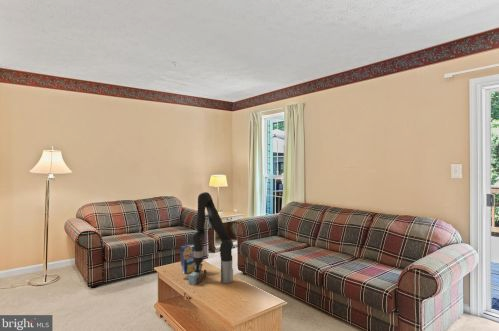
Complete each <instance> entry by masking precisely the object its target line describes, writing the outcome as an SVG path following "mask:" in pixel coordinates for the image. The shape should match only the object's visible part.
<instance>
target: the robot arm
mask: <svg viewBox="0 0 499 331" xmlns="http://www.w3.org/2000/svg"><path fill="white" fill-rule="evenodd" d="M206 212H207V216H208V222H209V223H210V225H211V227H212V229H213V230H214V232H215V233H216V234H217V235H218V237H219V238H220V241H221V243H220V247H219V255H220V257H219V258H220V283H221V284H231V283H233V281H234V268H233V256H232V255H233V253H232V251H233V250H232V249H233V247H234V242H233V240H232V239H231V237H230V235H229V234H228V232H227V229H226V227H225V225H224V222H223V221H222V218H221V216H220V215H219V212H218V210H217V208H216V206H215V203H214V200H213V198H212V196H211V194H210V193H209V192H206V191H205V192H201V193H200V194H198V196H197V215H196V220H195V228H196V232H193V234H192V237H191V238H192V239H191V240H192V245H194V263H195V268H194V271H193V272H199V277H200V276H201V271H202V267H203V261H204V253H203V252H204V251H203V250H204V248H203V243H202V242H201V240H203V238H204V237H205V226H206V224H205V223H206Z"/></svg>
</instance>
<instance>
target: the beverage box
mask: <svg viewBox="0 0 499 331" xmlns="http://www.w3.org/2000/svg"><path fill="white" fill-rule="evenodd" d="M194 268H195V263H194V244H193V243H192V244H187V245H182V246H180V272H181V273H183V274H188V273H192V272H195V271H194Z"/></svg>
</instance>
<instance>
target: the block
mask: <svg viewBox="0 0 499 331" xmlns="http://www.w3.org/2000/svg"><path fill="white" fill-rule="evenodd" d="M188 275H189V280H188V285H193V286H195V285H196V284H198V278H199V272H195V271H193V272H190V274H188Z"/></svg>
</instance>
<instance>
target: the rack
mask: <svg viewBox="0 0 499 331" xmlns="http://www.w3.org/2000/svg"><path fill="white" fill-rule="evenodd" d="M206 278H207V269H204V270H203V273H202V274H200V277H199V278H198V282H197V284H201V282H203V281H204V280H205V279H206Z"/></svg>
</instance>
